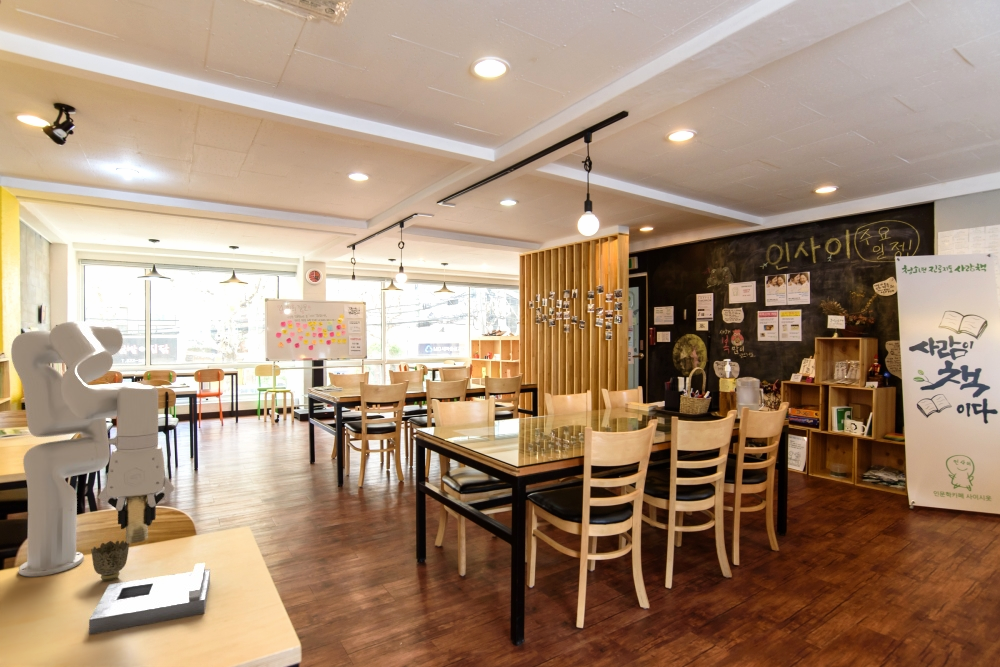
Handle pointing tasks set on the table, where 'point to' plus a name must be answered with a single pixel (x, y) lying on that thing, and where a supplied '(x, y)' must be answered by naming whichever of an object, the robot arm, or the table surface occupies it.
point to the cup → (110, 559)
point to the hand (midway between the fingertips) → (137, 524)
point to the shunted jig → (151, 600)
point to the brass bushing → (136, 519)
